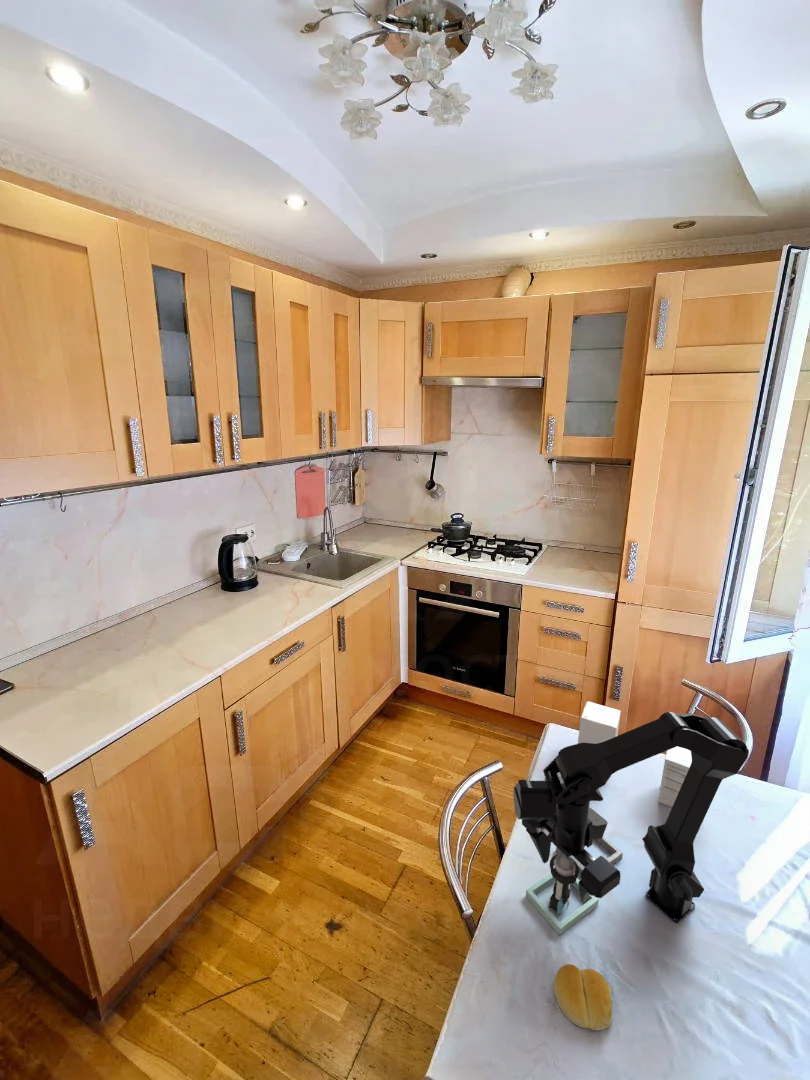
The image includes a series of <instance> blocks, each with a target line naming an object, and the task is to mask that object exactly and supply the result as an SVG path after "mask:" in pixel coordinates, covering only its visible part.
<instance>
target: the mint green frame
mask: <svg viewBox="0 0 810 1080" xmlns="http://www.w3.org/2000/svg"><path fill="white" fill-rule="evenodd" d="M574 874H575V873H574ZM574 874H573V875H574ZM580 880H581V879H579V877H578V878H577V880H576V882H575V883H574V884H572V886H573V887H574V888H575V889H576V890H577V891H579V881H580ZM556 881H557V880H556V879H555V878H554V877H553V876H552V874H551V872H550V873H549V874H547V875H546V876H545V877H543V878H541V879H540V880H538V881H537V882H535V883H534V884H532V885H530V887H528V888H527V889H526V890H525V897H526V898H527V899H528V900H529V901H530V903H531V904H532V905H533V906H534V907H535V908H536V909H537V911H538V912H539V913H540V914H541V916H543V918H544V919H545V920H546V921H547V923H548V924H549V925H550V926H551V927H552V928H553V929H554V931H556V933H557V934H558V935H559V936H560V935H562V934H564V932H566V931H567V930H568V929H569V928H571V927H572V926H574V925H575V924H576V923H577V922H579V921H580V920H581V919H583V917H585V916H587V914H589V913H590V912H592V911H593V910H594V909H595V908H596V907H598V906H599V899H600V898H597V897H595V896H592V895H590V896H589V897H588V898H587V899H586V900H587V902H585V903H584V904H582V905H581V906H579V907H578V909H576V910H575V911H573V912H572V913H571V914H569V915H568V916H567V917H566V918H564V919H563V920H562V921H561V922H560V921H559V920H558V918H556V916H555V915H554V914H553V913H552V912H551V911H550V910H549V908H547V906H546V905H545V904H544V903H543V902H542V901H541V900H540V898H539V897H538V896H537V894H538V893H540V892H541V891H543V890H544V889H545V888H547V887H549V886H550V885H551V884H552V883H553V884H554V883H555V882H556Z"/></svg>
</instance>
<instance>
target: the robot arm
mask: <svg viewBox="0 0 810 1080" xmlns="http://www.w3.org/2000/svg"><path fill="white" fill-rule="evenodd" d="M677 746H678V747H681V748H685V749H688V750H690V751H691V756H692V763H691V765H690V768H689V770H688V772H687V775H686V777H685V779H684V781H683V784H682V786H681V788H680V791H679V793H678V795H677V797H676V800H675V802H674V804H673V807H671V809H670V812H669V813H668V817H667V818H666V821H665V822H664V823H662V824H659V825H658V826H657V825H656V826H654V825H648V826H647V827H648V829H647V832H646V833H645V836H643V838H642V841H643V844H644V845H643V846H644V847H643V848H644V849H645V851H646V854H647V855H648V857H649V859H650V861H651V862H652V864H653V867H654V868H653V869H651V872H650V877H649V883H648V887H649V889H648V890H647V891H645V897H646V898H647V899H648V900H649V901H651V902H652V903H653V904H654V905H655V906H656V907H657V908H658V909H659V910H660V911H662V912H663V913H664V914H665V916H667V917H668V918H669V919H670V920H672V921H673V922H674V923H675V924H678V923H680V922H681V921H682V920H683V919H684V918H685V917H686V916H687V915H688V914H689V913H691V911H693V910H694V909H695V908H696V903H695V901H694V899H693V898H700V897H701V896H702V894H703V892H704V891H705V888H704V887H703V885H702V883H701V882H700V880H699V878H698V877H697V875H696V873H695V871H694V868H695V864H696V860H695V859H696V858H695V849H694V842H695V840H696V838H697V835H698V833H699V831H700V829H701V826H702V824H703V822H704V819H705V817H706V815H707V813H708V812H709V809H710V807H711V805H712V802H713V801H714V798H715V796H716V793H717V792H718V790H719V787H720V785H721V783H722V781H723V780H724V779H727V778H729V777H732V776H735V775H737V774H738V773H739V771H740V770H741V768H742V767H743V766H744V765H745V763H746V761H747V759H748V758H749V755H750V750H749V748H748V746H747V745H746V743H745V742H744V741H743V740H742V739H741V738H740V736H738V735H737V734H736V733H735V732H734V731H733V730H732V729H731V728H730V727H729V726H728V725H727V724H726V722H724V721H722V720H721V718H718V717H704V716H701V715H699V714H694V713H691V712H690V713H685V714H679V713H676V712H671V711H667V712H664V713H662V714H661V715H660V716H659V717H658V718H657V719H655V720H652V721H650V722H648V723H645V724H643V725H641V726H638V727H635V728H633V729H631V730H629V731H626V732H622V733H621V734H618V735H617V736H616V737H614V738H611V739H609V740H607V741H604V742H601V743H597V744H593V743H579V744H578V743H576V744H573V745H568V746H565V747H562V748H561V749H560V750H559V751H558V752H557V756H555V758H554V759H552V761H551V762H550V763H548V765H547V766H546V767H545V768H544V769H543V770H542V772H543V775H544V780H529V779H518V780H517V783H516V784H515V785H514V787H513V806H514V812H515V814H516V818H517V819H518V820H521V825H522V827H524V828H525V830H526V832H527V833H528V835H529V837H530V839H531V841H532V842H533V844H534V846H535V849H536V850H537V852H538V855H539V857H540V859H541V861H542V863H543V864H546V863H548V862H549V861H550V860H549V859H550V854H551V846H552V844H553V845H554V846H555V848H556V847H557V848H558V849H559V850H560V851H561V852H562V853H563V854H564V855H566V856H567V857H568V858H569V857H570V856H573V857H574V858H575V859H576V860H577V861H578V862H579V863H581V864H582V865H583V866H584V869H583V871H582V872H581V874H580V876H579V877H580V879H579V880H580V881H579V893H578V895H579V899H580V902H581V903H584V902H586V900H587V898H588V897H589V896H590V895H592V896H595V897H597V898H598V899H602V898H604V896H606V895H607V894H608V893H609V892H611V891H612V890H614V888H616V887H618V886H619V885H620V883H621V882H620V881H621V871H620V870H619V869H618V868H616V867H615V866H614V865H612V864H611V863H610V862H609V861H608V860H606V859H607V858H605V856H603V855H600V856H598V857H597V858H595V857H594V856H592V854H590V852H588V851H587V850H586V849H585V847H587V848H590V847H592V846H593V843H594V842H593V841H594V840H596V839H598V838H600V839H601V838H602V837H603V836H604V834H605V831H606V829H607V827H608V821H607V820H606V819H605V818H604V817H603V816H602V815H600V814H599V813H598V812H597V811H596V810H594V809H592V807H590V806H591V805H590V803H591V802H602V801H603V800H604V797H603V795H602V794H601V791H600V788H602V787H604V786H605V785H606V784H607V782H608V781H609V780H610V778H611V776H612V775H613V774H615V773H617V772H618V771H620V770H623V769H625V768H629V767H630V766H633V765H636V764H638V763H640V762H643V761H644V760H647V759H650V758H652V757H655V756H657V755H660V754H662V753H665V752H667V750H670V749H672V748H674V747H677ZM559 774H560V776H561V780H562V781H563V782H561V780H560V777H559Z"/></svg>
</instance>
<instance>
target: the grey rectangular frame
mask: <svg viewBox="0 0 810 1080" xmlns="http://www.w3.org/2000/svg"><path fill="white" fill-rule="evenodd" d="M595 840H596V841H598V843H600V844H601V846H603V847H604V848H606V850H607V851H609V852H610V853H611V855H610V856H609V857H607V858H605V859H606V860H608V861H609V862H610V863H611V864H612V865H613V866H614V865H615V864H616V863H618V862H619V861H620V860H622V859H623V854H624V852H623V851H622V850H620V849H619V848H618V847H617V846H616V845H614V844H613V843H612V842H611V841H610V840H609V839H607V838H606V837H605V836H604V835H603V837H602V838H601V839H600V838H598V839H595ZM555 851H556V852H557V853H558V854H563V853H562V852H561V851H560V850H559V849H558V848H557V847H556V846H555ZM570 858H572V859H573V860H574V861H575V862H576V863H577V865H578V867H579V875H581V872H582V871H583V869H584V866H583V865H582V864H581V863H580V862H579V861H578V860H577V859H575V858H574V857H573V856H570Z"/></svg>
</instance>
